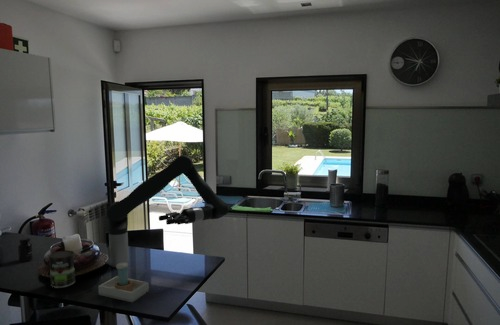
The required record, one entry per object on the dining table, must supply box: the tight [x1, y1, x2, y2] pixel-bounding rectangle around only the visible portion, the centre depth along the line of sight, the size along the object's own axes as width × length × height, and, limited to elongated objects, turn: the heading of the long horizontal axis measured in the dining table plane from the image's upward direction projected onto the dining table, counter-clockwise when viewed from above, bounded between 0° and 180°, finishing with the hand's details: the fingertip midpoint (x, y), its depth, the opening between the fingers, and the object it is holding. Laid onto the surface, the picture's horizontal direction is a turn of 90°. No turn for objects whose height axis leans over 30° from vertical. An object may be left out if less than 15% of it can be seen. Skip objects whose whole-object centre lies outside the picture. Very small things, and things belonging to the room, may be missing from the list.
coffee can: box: [48, 250, 76, 289], centre depth 167 cm, size 10×10×14 cm
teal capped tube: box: [115, 262, 129, 286], centre depth 157 cm, size 5×5×12 cm
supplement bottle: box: [17, 237, 34, 263], centre depth 195 cm, size 7×7×12 cm
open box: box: [98, 275, 150, 303], centre depth 158 cm, size 18×11×4 cm, turn 68°
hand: (162, 220), depth 172 cm, fingers open, 8 cm apart
